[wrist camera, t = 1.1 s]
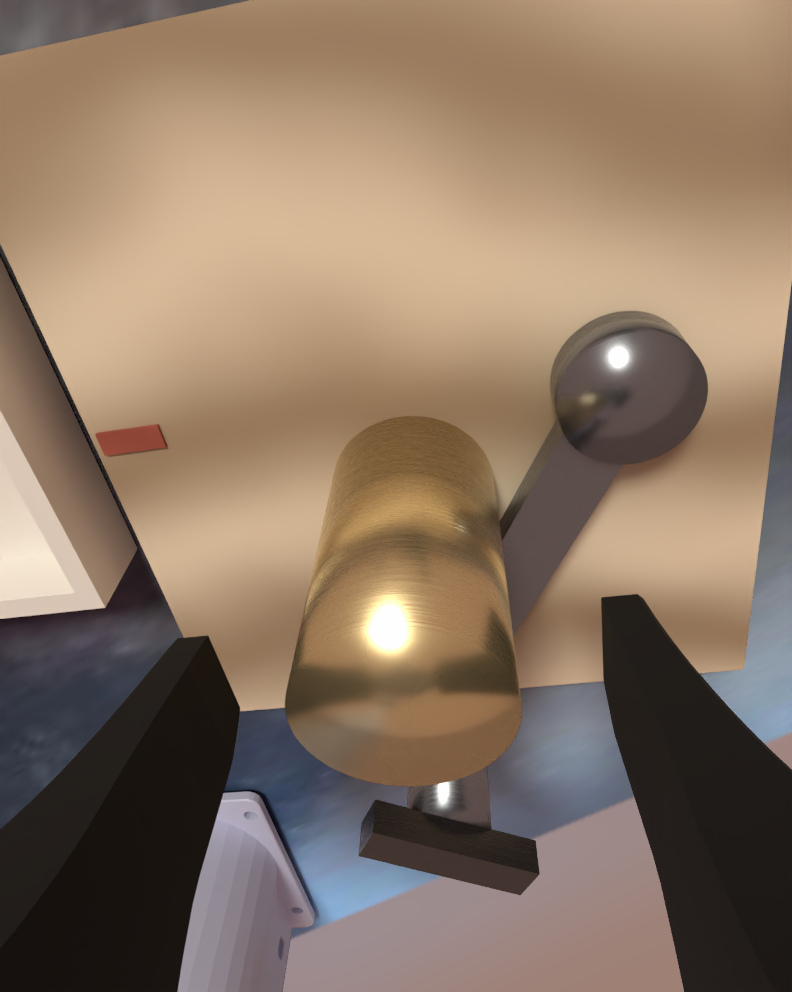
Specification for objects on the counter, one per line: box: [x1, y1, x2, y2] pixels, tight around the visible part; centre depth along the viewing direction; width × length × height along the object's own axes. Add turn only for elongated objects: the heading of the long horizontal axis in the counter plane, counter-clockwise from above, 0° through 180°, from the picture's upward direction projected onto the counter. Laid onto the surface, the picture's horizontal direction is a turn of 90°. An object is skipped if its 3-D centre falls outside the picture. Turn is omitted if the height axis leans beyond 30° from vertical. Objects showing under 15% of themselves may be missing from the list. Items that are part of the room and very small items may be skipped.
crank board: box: [0, 0, 792, 711], centre depth 18 cm, size 18×16×1 cm
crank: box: [359, 311, 708, 895], centre depth 16 cm, size 12×4×6 cm, turn 160°
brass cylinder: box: [285, 416, 522, 786], centre depth 15 cm, size 4×4×7 cm
